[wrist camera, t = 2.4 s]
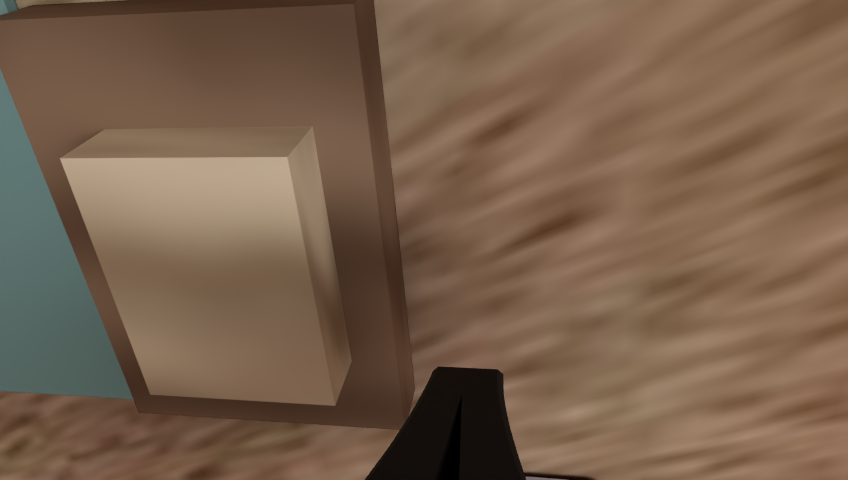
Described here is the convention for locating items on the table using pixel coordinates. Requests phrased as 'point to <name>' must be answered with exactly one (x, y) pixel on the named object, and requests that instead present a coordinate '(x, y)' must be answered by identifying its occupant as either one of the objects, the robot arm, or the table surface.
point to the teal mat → (44, 283)
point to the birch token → (218, 259)
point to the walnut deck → (232, 107)
